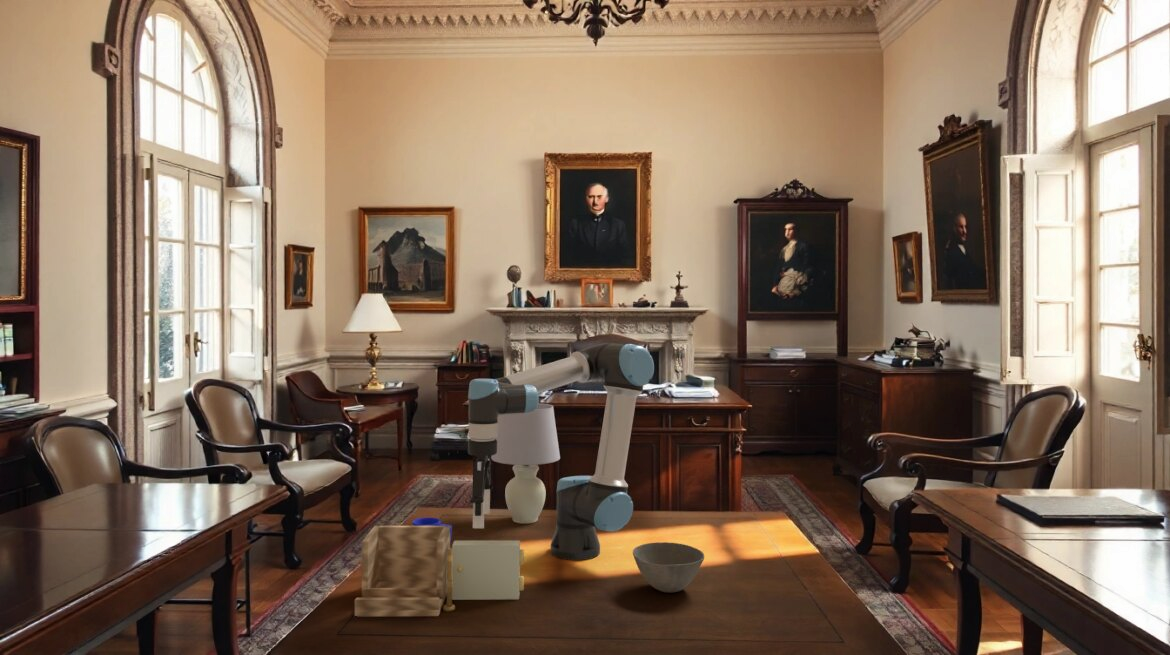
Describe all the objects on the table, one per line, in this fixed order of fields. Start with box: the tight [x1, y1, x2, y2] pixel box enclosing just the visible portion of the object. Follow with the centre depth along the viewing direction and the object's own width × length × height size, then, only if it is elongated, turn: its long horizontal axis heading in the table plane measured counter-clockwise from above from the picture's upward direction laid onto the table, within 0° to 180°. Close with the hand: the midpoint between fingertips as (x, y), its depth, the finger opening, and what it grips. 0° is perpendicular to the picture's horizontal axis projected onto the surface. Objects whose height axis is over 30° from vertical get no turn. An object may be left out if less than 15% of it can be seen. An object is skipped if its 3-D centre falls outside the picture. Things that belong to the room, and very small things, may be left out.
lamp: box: [490, 403, 561, 525], centre depth 273 cm, size 24×24×40 cm
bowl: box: [632, 541, 705, 593], centre depth 208 cm, size 19×19×10 cm
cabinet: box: [354, 525, 456, 617], centre depth 199 cm, size 23×21×16 cm
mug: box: [412, 517, 453, 542], centre depth 235 cm, size 8×12×10 cm
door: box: [451, 540, 525, 601], centre depth 201 cm, size 18×5×14 cm, turn 93°
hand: (481, 520), depth 203 cm, fingers open, 13 cm apart
